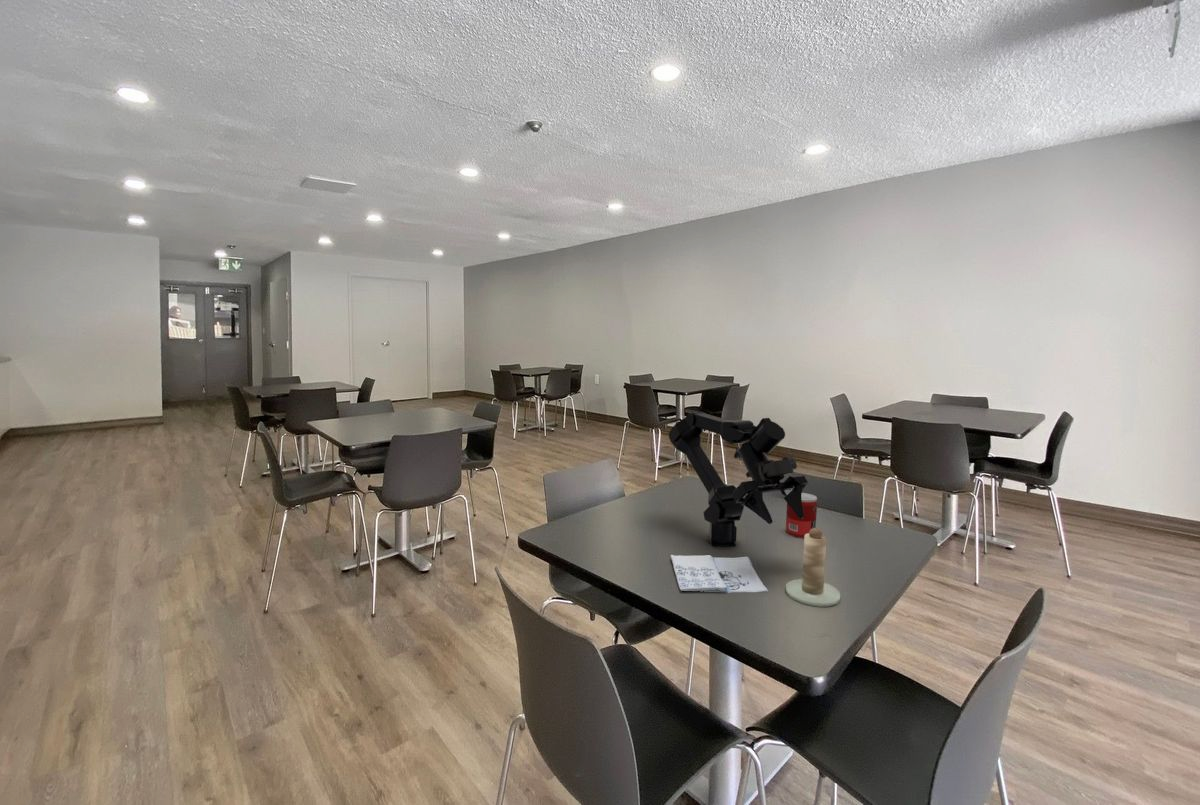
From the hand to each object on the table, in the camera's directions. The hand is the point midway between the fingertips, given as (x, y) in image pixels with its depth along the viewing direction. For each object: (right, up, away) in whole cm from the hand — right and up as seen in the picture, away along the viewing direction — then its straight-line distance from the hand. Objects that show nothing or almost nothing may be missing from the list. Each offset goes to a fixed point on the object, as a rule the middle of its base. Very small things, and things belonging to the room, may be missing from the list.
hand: (786, 520), depth 125 cm
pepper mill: (+3, -14, -7) cm, 16 cm away
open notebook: (-16, -14, +2) cm, 21 cm away
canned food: (+14, -10, +30) cm, 35 cm away
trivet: (+3, -15, -7) cm, 16 cm away
